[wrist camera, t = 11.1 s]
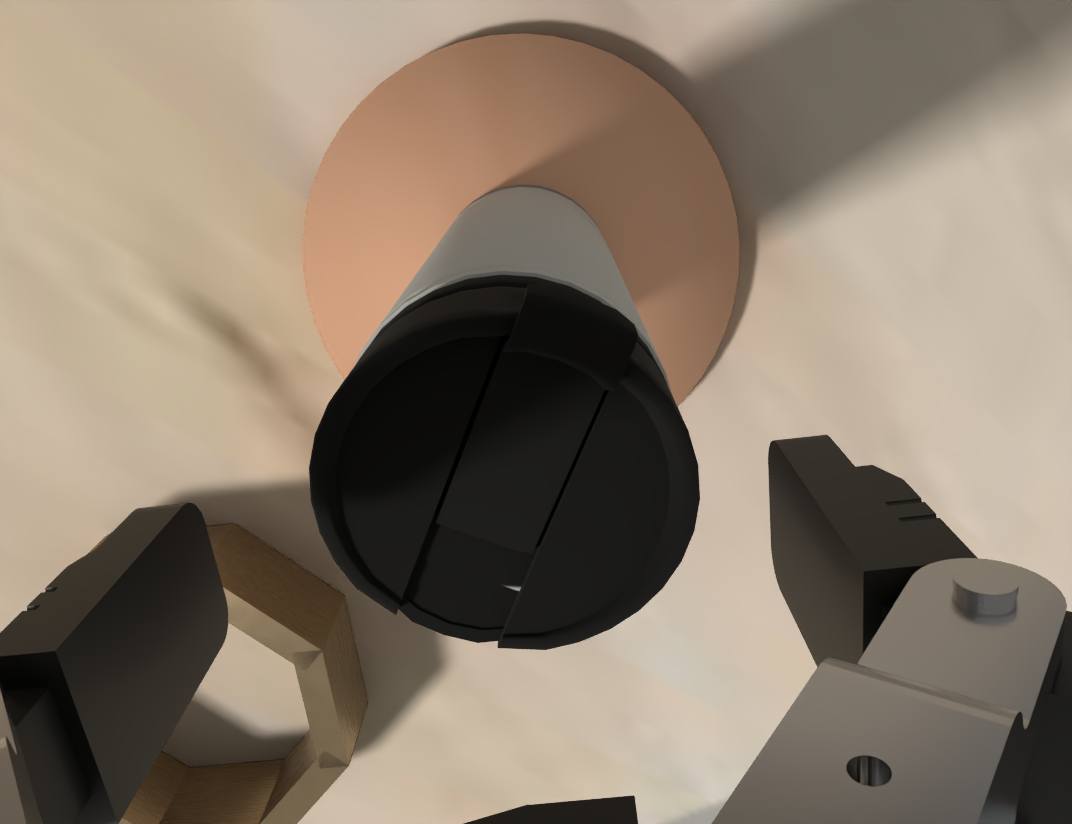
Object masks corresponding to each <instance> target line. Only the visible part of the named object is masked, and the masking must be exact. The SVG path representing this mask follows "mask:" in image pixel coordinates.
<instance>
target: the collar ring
mask: <svg viewBox="0 0 1072 824" xmlns="http://www.w3.org/2000/svg"><path fill="white" fill-rule="evenodd" d="M206 528H207V531H208V535H209V539H210V542H211V546H212V549H213V553H214V557H215V560H216V564H217V567H218V571H219V574H220V578H221V582H222V585H223V589H224V592H225V596H226V600H227V606H228V623H230V624H232V625H233V626H235V627H236V628H238V629H239V630H241V631H243V632H244V633H246V634H247V635H249V636H251V637H252V638H254V639H255V640H257V641H258V642H260V643H262V644H263V645H265V646H266V647H268V648H269V649H271V650H273V651H274V652H276V653H277V654H279V655H281V656H282V657H284V658H285V659H287V660H288V661H290V662H292V663H293V664H294V665H295V669H296V673H297V677H298V681H299V685H300V689H301V693H302V697H303V701H304V706H305V710H306V714H307V718H308V722H309V726H310V731H309V732H308V733H307V734H306V735H305V736H304V738H303V739H302V740H301V741H300V742H299V743H298V745H297V746H296V747H295V748H294V749H293V750H292V752H291V753H290V754H289V755H288V756H287V757H286V758H285V759H283V760H272V761H260V762H249V763H238V764H226V765H215V766H204V767H192V768H189V767H187V766H186V765H184V764H182V763H180V762H179V761H177V760H175V759H174V758H172V757H170V756H168V755H167V754H165V753H163V752H162V751H161V752H160V754H159V755H158V757H157V759H156V760H155V762H154V764H153V766H152V767H151V769H150V771H149V773H148V774H147V776H146V778H145V779H144V781H143V783H142V785H141V786H140V788H139V790H138V791H137V793H136V795H135V797H134V798H133V800H132V802H131V803H130V805H129V807H128V809H127V810H126V812H125V814H124V815H123V817H122V819H121V821H120V822H119V824H297V823H298V822H299V821H300V820H301V819H302V817H303V816H304V815H305V814H306V813H307V812H308V811H309V810H310V808H311V807H312V806H313V805H314V804H315V803H316V802H317V801H318V800H319V798H320V797H321V796H322V795H323V794H324V793H325V792H326V791H327V789H328V788H329V787H330V786H331V785H332V784H333V783H334V782H335V780H336V779H337V778H338V777H339V776H340V775H341V774H342V773H343V772H344V770H345V769H346V768H347V767H348V766H349V764H350V761H351V757H352V754H353V751H354V747H355V744H356V741H357V737H358V734H359V731H360V727H361V724H362V721H363V717H364V714H365V711H366V707H367V704H368V701H367V696H366V692H365V687H364V683H363V678H362V673H361V669H360V664H359V660H358V655H357V650H356V646H355V641H354V637H353V632H352V627H351V623H350V618H349V614H348V609H347V604H346V600H345V595H343V594H341V593H340V592H338V591H337V590H335V589H334V588H332V587H331V586H329V585H328V584H326V583H325V582H323V581H322V580H320V579H318V578H317V577H315V576H314V575H312V574H311V573H309V572H308V571H306V570H305V569H303V568H302V567H300V566H299V565H297V564H296V563H294V562H293V561H291V560H290V559H288V558H287V557H285V556H284V555H282V554H281V553H279V552H278V551H276V550H275V549H273V548H272V547H270V546H268V545H267V544H265V543H264V542H262V541H261V540H259V539H258V538H256V537H255V536H253V535H252V534H250V533H249V532H247V531H246V530H244V529H243V528H241V527H240V526H238V525H237V524H235V523H232V524H223V525H213V526H206ZM107 537H108V536H106V537H105V538H104V539H103V540H102V541H101V542H99V543H98V544H97V545H96V546H95V547H94V548H93V549H92V550H91V551H90V552H92V551H94V550H95V549H96V548H97V547H98V546H99V545H100V544H101V543H102V542H103V541H104V540H105V539H106V538H107ZM90 552H89V553H90ZM89 553H88V554H89Z"/></svg>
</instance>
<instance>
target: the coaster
mask: <svg viewBox="0 0 1072 824" xmlns="http://www.w3.org/2000/svg"><path fill="white" fill-rule="evenodd" d="M521 184H522V185H536V186H542V187H545V188H549V189H552V190H556V191H558V192H560V193H562V194H564V195H566V196H568V197H569V198H571V199H573V200H574V201H575V202H576V203H578V204H579V205H580V206H581V207H583V208H584V209H585V210H586V211H587V213H588V214H589V215H590V216H591V217H592V219H593V220H594V221H595V222H596V224H597V226H598V228H599V229H600V231H601V233H602V235H603V237H604V239H605V241H606V243H607V245H608V248H609V250H610V252H611V254H612V256H613V259H614V261H615V263H616V265H617V267H618V269H619V272H620V274H621V276H622V278H623V280H624V283H625V285H626V287H627V289H628V291H629V293H630V296H631V298H632V300H633V302H634V304H635V307H636V309H637V311H638V313H639V315H640V318H641V320H642V322H643V324H644V326H645V328H646V331H647V333H648V335H649V337H650V339H651V342H652V344H653V346H654V348H655V350H656V353H657V355H658V357H659V359H660V362H661V364H662V366H663V368H664V370H665V372H666V376H667V379H668V382H669V386H670V389H671V392H672V396H673V398H674V400H675V402H676V405H677V406H678V405H679V404H680V403H681V402H682V401H683V400H684V399H685V398H686V397H687V395H688V394H689V393H690V392H691V390H692V389H693V388H694V386H695V385H696V384H697V383H698V381H699V380H700V379H701V378H702V376H703V374H704V373H705V371H706V369H707V368H708V366H709V364H710V363H711V361H712V359H713V358H714V356H715V354H716V352H717V350H718V347H719V345H720V343H721V341H722V338H723V336H724V334H725V332H726V329H727V326H728V323H729V319H730V316H731V313H732V309H733V306H734V302H735V296H736V290H737V284H738V277H739V256H740V243H739V233H738V224H737V215H736V211H735V207H734V203H733V199H732V195H731V191H730V187H729V185H728V182H727V179H726V177H725V174H724V172H723V169H722V167H721V164H720V162H719V159H718V157H717V156H716V154H715V152H714V150H713V149H712V147H711V145H710V143H709V141H708V140H707V138H706V136H705V134H704V133H703V131H702V130H701V129H700V127H699V126H698V125H697V123H696V122H695V121H694V119H693V118H692V117H691V115H690V114H689V113H688V111H687V110H686V109H685V108H684V107H683V106H682V105H681V104H680V103H679V102H678V101H677V100H676V99H675V98H674V97H673V96H672V95H671V94H670V93H669V92H668V91H667V90H666V89H665V88H664V87H663V86H661V85H660V84H659V83H657V82H656V81H655V80H653V79H652V78H651V77H650V76H648V75H647V74H646V73H644V72H643V71H642V70H640V69H639V68H637V67H635V66H633V65H631V64H630V63H628V62H626V61H624V60H623V59H621V58H619V57H617V56H615V55H614V54H611V53H609V52H606V51H603V50H601V49H598V48H596V47H593V46H591V45H588V44H585V43H582V42H578V41H573V40H569V39H565V38H560V37H556V36H548V35H537V34H525V33H519V34H502V35H490V36H485V37H480V38H475V39H470V40H465V41H461V42H458V43H455V44H452V45H449V46H446V47H444V48H441V49H438V50H435V51H432V52H430V53H429V54H427V55H425V56H423V57H421V58H419V59H417V60H415V61H413V62H411V63H410V64H408V65H406V66H404V67H403V68H401V69H400V70H399V71H397V72H396V73H394V74H393V75H392V76H390V77H389V78H388V79H386V80H385V81H383V82H382V83H381V84H380V85H379V86H377V87H376V88H375V89H374V90H373V91H372V92H371V93H370V94H369V95H368V96H367V97H366V98H365V99H364V100H363V101H362V102H361V103H360V104H359V105H358V106H357V107H356V109H355V110H354V111H353V112H352V114H351V115H350V116H349V118H348V119H347V120H346V121H345V123H344V124H343V125H342V126H341V128H340V129H339V131H338V133H337V134H336V136H335V138H334V140H333V141H332V143H331V145H330V146H329V148H328V150H327V152H326V153H325V155H324V158H323V160H322V163H321V165H320V168H319V170H318V172H317V175H316V177H315V180H314V183H313V186H312V190H311V194H310V198H309V202H308V206H307V209H306V217H305V226H304V234H303V269H304V276H305V283H306V290H307V296H308V300H309V304H310V307H311V311H312V314H313V318H314V322H315V324H316V327H317V329H318V331H319V334H320V336H321V339H322V341H323V343H324V346H325V348H326V350H327V352H328V353H329V355H330V357H331V359H332V360H333V362H334V364H335V366H336V367H337V369H338V371H339V372H340V374H341V375H342V376H343V378H344V379H346V377H347V376H348V375H349V373H350V372H351V370H352V369H353V368H354V365H355V363H356V361H357V359H358V356H359V354H360V352H361V351H362V349H363V348H364V346H365V345H366V344H367V342H368V341H369V339H370V338H371V337H372V335H373V334H374V332H375V331H376V330H377V328H378V327H379V325H380V324H381V323H382V321H383V320H384V318H385V317H386V316H387V314H388V313H389V311H390V310H391V309H392V307H393V306H394V304H395V303H396V302H397V300H398V299H399V297H400V296H401V295H402V293H403V292H404V290H405V289H406V288H407V286H408V285H409V284H410V282H411V281H412V279H413V278H414V277H415V275H416V274H417V272H418V271H419V270H420V268H421V267H422V265H423V264H424V263H425V261H426V260H427V258H428V257H429V256H430V254H431V253H432V251H433V250H434V249H435V247H436V246H437V244H438V243H439V242H440V240H441V239H442V237H443V236H444V235H445V233H446V232H447V230H448V229H449V228H450V226H451V225H452V224H453V222H454V221H455V219H456V218H457V217H458V215H459V214H460V213H461V212H462V211H463V210H464V209H465V208H466V207H467V206H468V205H469V204H471V203H472V202H473V201H474V200H476V199H478V198H479V197H481V196H483V195H484V194H486V193H488V192H491V191H493V190H496V189H499V188H502V187H506V186H514V185H521Z"/></svg>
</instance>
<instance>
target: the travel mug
mask: <svg viewBox="0 0 1072 824" xmlns="http://www.w3.org/2000/svg"><path fill="white" fill-rule="evenodd" d="M309 474H310V492H311V503H312V506H313V510H314V513H315V517H316V520H317V524H318V528H319V531H320V534H321V536H322V537H323V539H324V541H325V543H326V545H327V547H328V549H329V551H330V553H331V555H332V557H333V559H334V561H335V562H336V563H337V565H338V566H339V567H340V569H341V570H342V571H343V572H344V574H345V575H346V576H347V577H348V579H349V580H350V581H351V582H352V584H353V585H354V586H355V587H356V588H357V589H358V590H360V591H361V592H363V593H364V594H366V595H367V596H369V597H370V598H371V599H373V600H374V601H376V602H377V603H379V604H380V605H382V606H383V607H385V608H386V609H388V610H389V611H391V612H392V613H394V614H395V615H396V614H397V611H398V609H399V610H400V611H401V612H403V613H404V614H405V615H406V616H407V617H408V618H409V619H410V620H411V621H412V622H415V623H417V624H419V625H422V626H424V627H427V628H429V629H431V630H434V631H436V632H439V633H441V634H443V635H447V636H451V637H455V638H460V639H464V640H468V641H472V642H477V643H480V642H490V641H498V648H512V649H537V650H547V649H552V648H556V647H560V646H564V645H569V644H573V643H577V642H580V641H583V640H585V639H588V638H590V637H592V636H595V635H597V634H600V633H602V632H604V631H607V630H609V629H611V628H613V627H614V626H616V625H617V624H619V623H621V622H622V621H624V620H625V619H627V618H628V617H630V616H631V615H633V614H634V613H636V612H638V611H639V610H640V609H641V608H642V607H643V606H644V605H645V604H646V603H647V602H649V601H650V600H651V599H652V598H653V597H654V596H655V595H656V594H657V593H658V592H659V591H660V590H661V589H662V588H663V587H664V586H665V584H666V583H667V581H668V580H669V578H670V577H671V575H672V574H673V573H674V571H675V570H676V568H677V567H678V565H679V564H680V563H681V561H682V559H683V556H684V554H685V552H686V549H687V547H688V545H689V542H690V540H691V537H692V535H693V533H694V529H695V524H696V518H697V512H698V506H699V501H700V491H699V474H698V463H697V460H696V456H695V453H694V449H693V446H692V442H691V439H690V436H689V432H688V430H687V427H686V425H685V423H684V421H683V419H682V416H681V414H680V412H679V409H678V407H677V405H676V402H675V400H674V398H673V396H672V392H671V389H670V386H669V382H668V379H667V376H666V372H665V370H664V368H663V366H662V364H661V362H660V359H659V357H658V355H657V353H656V350H655V348H654V346H653V344H652V342H651V339H650V337H649V335H648V333H647V331H646V328H645V326H644V324H643V322H642V320H641V318H640V315H639V313H638V311H637V309H636V307H635V304H634V302H633V300H632V298H631V296H630V293H629V291H628V289H627V287H626V285H625V283H624V280H623V278H622V276H621V274H620V272H619V269H618V267H617V265H616V263H615V261H614V259H613V256H612V254H611V252H610V250H609V248H608V245H607V243H606V241H605V239H604V237H603V235H602V233H601V231H600V229H599V228H598V226H597V224H596V222H595V221H594V220H593V219H592V217H591V216H590V215H589V214H588V213H587V211H586V210H585V209H584V208H583V207H581V206H580V205H579V204H578V203H576V202H575V201H574V200H573V199H571V198H569V197H568V196H566V195H564V194H562V193H560V192H558V191H556V190H552V189H549V188H545V187H542V186H536V185H522V184H521V185H514V186H506V187H502V188H499V189H496V190H493V191H491V192H488V193H486V194H484V195H483V196H481V197H479V198H478V199H476V200H474V201H473V202H472V203H471V204H469V205H468V206H467V207H466V208H465V209H464V210H463V211H462V212H461V213H460V214H459V215H458V217H457V218H456V219H455V221H454V222H453V224H452V225H451V226H450V228H449V229H448V230H447V232H446V233H445V235H444V236H443V237H442V239H441V240H440V242H439V243H438V244H437V246H436V247H435V249H434V250H433V251H432V253H431V254H430V256H429V257H428V258H427V260H426V261H425V263H424V264H423V265H422V267H421V268H420V270H419V271H418V272H417V274H416V275H415V277H414V278H413V279H412V281H411V282H410V284H409V285H408V286H407V288H406V289H405V290H404V292H403V293H402V295H401V296H400V297H399V299H398V300H397V302H396V303H395V304H394V306H393V307H392V309H391V310H390V311H389V313H388V314H387V316H386V317H385V318H384V320H383V321H382V323H381V324H380V325H379V327H378V328H377V330H376V331H375V332H374V334H373V335H372V337H371V338H370V339H369V341H368V342H367V344H366V345H365V346H364V348H363V349H362V351H361V352H360V354H359V356H358V359H357V361H356V363H355V365H354V368H353V369H352V370H351V372H350V373H349V375H348V376H347V377H346V379H345V380H344V382H343V383H342V385H341V386H340V387H339V389H338V390H337V392H336V393H335V395H334V396H333V397H332V399H331V400H330V402H329V403H328V405H327V408H326V410H325V412H324V415H323V417H322V419H321V422H320V424H319V426H318V429H317V431H316V434H315V437H314V443H313V449H312V454H311V460H310V466H309Z"/></svg>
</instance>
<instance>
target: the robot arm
mask: <svg viewBox="0 0 1072 824" xmlns="http://www.w3.org/2000/svg"><path fill="white" fill-rule="evenodd" d="M768 466H769V497H770V527H771V550H772V558H773V565H774V570H775V574H776V578H777V582H778V585H779V588H780V590H781V592H782V595H783V597H784V599H785V601H786V603H787V605H788V607H789V609H790V611H791V613H792V615H793V617H794V619H795V621H796V623H797V626H798V628H799V630H800V632H801V634H802V636H803V638H804V640H805V642H806V644H807V646H808V648H809V650H810V652H811V655H812V657H813V659H814V661H815V663H816V665H817V667H818V668H817V669H816V670H815V672H814V673H813V675H812V676H811V678H810V679H809V681H808V682H807V684H806V685H805V687H804V688H803V690H802V691H801V693H800V694H799V696H798V697H797V698H796V700H795V701H794V703H793V704H792V706H791V707H790V709H789V710H788V712H787V713H786V715H785V716H784V718H783V719H782V721H781V722H780V724H779V725H778V726H777V728H776V729H775V731H774V732H773V734H772V735H771V737H770V738H769V740H768V741H767V743H766V744H765V746H764V747H763V749H762V750H761V752H760V753H759V754H758V756H757V757H756V759H755V760H754V762H753V763H752V765H751V766H750V768H749V769H748V771H747V772H746V774H745V775H744V777H743V778H742V780H741V781H740V782H739V784H738V785H737V787H736V788H735V790H734V791H733V793H732V794H731V796H730V797H729V799H728V800H727V802H726V803H725V805H724V806H723V808H722V809H721V810H720V812H719V814H718V815H717V817H716V818H715V819H714V821H713V822H712V824H1072V612H1069V611H1066V607H1067V604H1066V600H1065V598H1064V596H1063V594H1062V593H1061V591H1060V590H1059V589H1058V588H1057V587H1056V586H1055V585H1054V584H1052V583H1051V582H1050V581H1048V580H1047V579H1046V578H1044V577H1042V576H1040V575H1038V574H1037V573H1035V572H1032V571H1030V570H1028V569H1025V568H1022V567H1019V566H1016V565H1013V564H1009V563H1005V562H1001V561H995V560H989V559H978V558H977V557H976V556H975V555H974V554H973V553H972V552H971V551H970V550H969V548H968V547H967V546H966V545H965V544H964V543H963V542H962V541H961V540H960V539H959V538H958V537H957V536H956V535H955V534H954V533H953V532H952V530H951V529H950V528H949V527H948V526H947V525H946V524H945V523H944V522H943V521H942V520H941V519H940V518H936V514H935V512H934V511H933V510H932V509H931V508H930V507H929V506H928V505H927V504H926V503H925V502H922V501H921V498H920V497H919V496H918V494H917V493H916V492H915V491H914V490H913V489H912V488H911V487H910V486H909V485H908V484H907V483H906V482H905V481H904V480H903V479H901V478H899V477H897V476H895V475H893V474H890V473H888V472H886V471H884V470H882V469H880V468H878V467H875V466H873V465H868V466H858V467H855V466H854V465H853V464H852V463H851V461H850V460H849V459H848V458H847V457H846V456H845V454H844V453H843V452H842V451H841V450H840V448H839V447H838V446H837V445H836V444H835V443H834V441H833V440H832V439H831V438H830V437H829V436H828V435H820V436H811V437H802V438H793V439H783V440H774V441H772V442H771V443H770V447H769V455H768ZM45 589H46V592H44V593H40V594H39V595H38V596H37V597H36V598H35V599H34V600H33V601H32V602H31V603H30V604H29V605H28V606H27V611H22V612H21V613H20V614H19V615H18V616H17V617H16V618H15V619H14V620H13V621H12V622H11V623H10V624H9V625H8V626H7V627H6V628H5V629H4V630H3V631H2V632H1V633H0V824H119V822H120V821H121V819H122V817H123V815H124V814H125V812H126V810H127V809H128V807H129V805H130V803H131V802H132V800H133V798H134V797H135V795H136V793H137V791H138V790H139V788H140V786H141V785H142V783H143V781H144V779H145V778H146V776H147V774H148V773H149V771H150V769H151V767H152V766H153V764H154V762H155V760H156V759H157V757H158V755H159V754H160V752H161V750H162V748H163V747H164V745H165V743H166V742H167V740H168V738H169V736H170V735H171V733H172V731H173V730H174V728H175V726H176V724H177V723H178V721H179V719H180V718H181V716H182V714H183V712H184V711H185V709H186V707H187V706H188V704H189V702H190V700H191V699H192V697H193V695H194V694H195V692H196V690H197V688H198V687H199V685H200V683H201V682H202V680H203V678H204V676H205V675H206V673H207V671H208V669H209V668H210V666H211V664H212V663H213V661H214V659H215V657H216V656H217V654H218V652H219V651H220V649H221V647H222V645H223V643H224V641H225V638H226V634H227V628H228V606H227V600H226V596H225V592H224V589H223V585H222V582H221V578H220V574H219V571H218V567H217V564H216V560H215V557H214V553H213V549H212V546H211V542H210V539H209V535H208V531H207V528H206V524H205V521H204V518H203V516H202V513H201V512H200V510H199V509H198V507H197V506H196V505H194V504H192V503H183V504H174V505H165V506H156V507H146V508H138V509H136V510H134V511H133V512H132V513H131V514H130V515H129V516H128V517H127V518H126V519H125V520H124V521H123V522H122V523H121V524H120V525H119V526H118V527H117V528H116V529H115V530H114V531H113V532H112V533H111V534H110V535H109V536H108V537H107V538H106V539H105V540H104V541H103V542H102V543H101V544H100V545H99V546H98V547H97V548H96V549H95V550H94V551H92V552H90V553H89V554H87V555H86V556H84V557H82V558H81V559H79V560H77V561H76V562H74V563H72V564H71V565H69V566H67V567H66V568H65V569H64V570H63V571H62V572H61V573H60V574H59V575H58V576H57V577H56V578H55V579H54V580H53V581H52V582H51V583H50V584H49V585H48V586H47V587H46V588H45ZM464 824H638V820H637V812H636V805H635V797H634V796H624V797H613V798H602V799H590V800H579V801H568V802H557V803H546V804H535V805H525V806H522V807H518V808H515V809H512V810H508V811H505V812H501V813H498V814H495V815H491V816H488V817H484V818H481V819H478V820H474V821H471V822H468V823H464Z"/></svg>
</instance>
